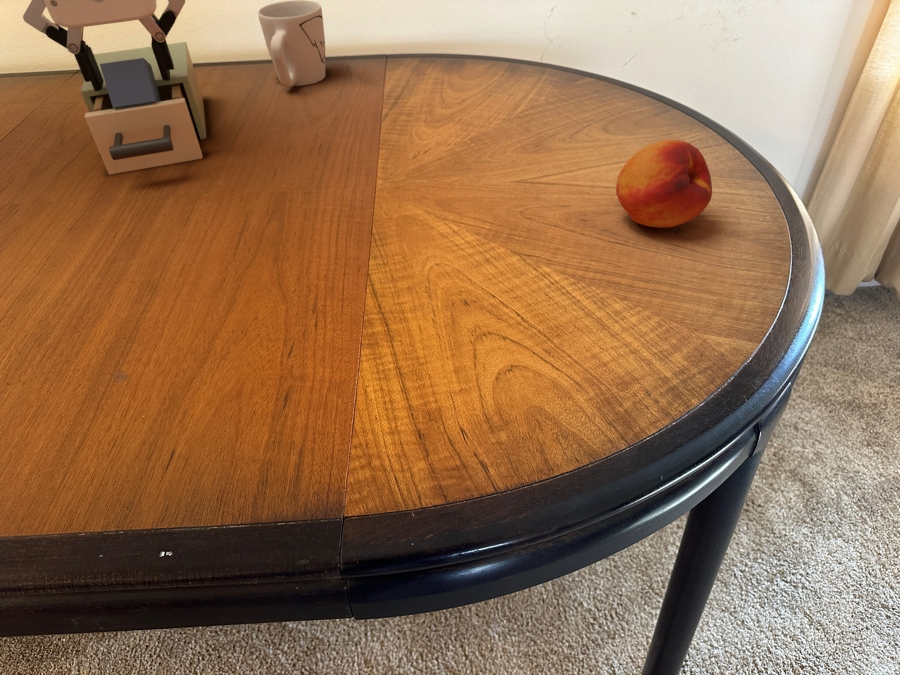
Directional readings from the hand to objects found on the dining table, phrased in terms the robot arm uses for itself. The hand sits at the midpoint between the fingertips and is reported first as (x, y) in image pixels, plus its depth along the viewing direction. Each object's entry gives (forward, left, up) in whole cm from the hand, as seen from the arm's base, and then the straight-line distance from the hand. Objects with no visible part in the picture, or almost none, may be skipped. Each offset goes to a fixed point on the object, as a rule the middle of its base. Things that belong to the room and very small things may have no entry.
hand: (133, 80), depth 72 cm
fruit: (+46, -35, -9) cm, 59 cm away
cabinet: (0, +7, -9) cm, 11 cm away
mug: (+19, +15, -9) cm, 26 cm away
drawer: (0, -2, -8) cm, 8 cm away
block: (0, 0, -1) cm, 1 cm away
